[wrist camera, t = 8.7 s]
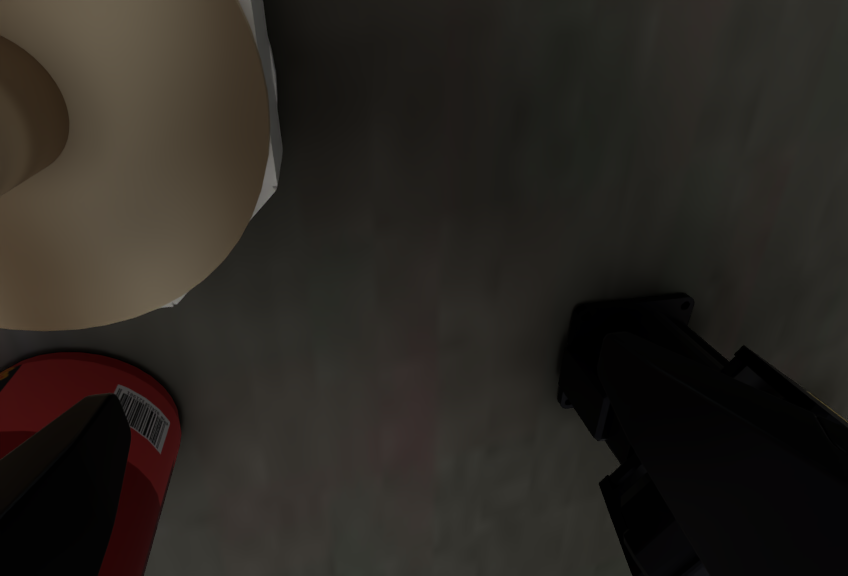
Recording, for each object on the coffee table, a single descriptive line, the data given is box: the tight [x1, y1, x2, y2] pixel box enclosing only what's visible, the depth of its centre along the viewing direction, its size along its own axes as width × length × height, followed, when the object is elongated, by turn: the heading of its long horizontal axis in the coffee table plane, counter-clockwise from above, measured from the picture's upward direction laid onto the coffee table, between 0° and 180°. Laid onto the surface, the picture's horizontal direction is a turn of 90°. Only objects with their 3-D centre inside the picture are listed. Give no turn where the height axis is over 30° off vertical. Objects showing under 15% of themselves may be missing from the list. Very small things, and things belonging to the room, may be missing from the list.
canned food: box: [0, 352, 181, 576], centre depth 18 cm, size 8×8×11 cm
